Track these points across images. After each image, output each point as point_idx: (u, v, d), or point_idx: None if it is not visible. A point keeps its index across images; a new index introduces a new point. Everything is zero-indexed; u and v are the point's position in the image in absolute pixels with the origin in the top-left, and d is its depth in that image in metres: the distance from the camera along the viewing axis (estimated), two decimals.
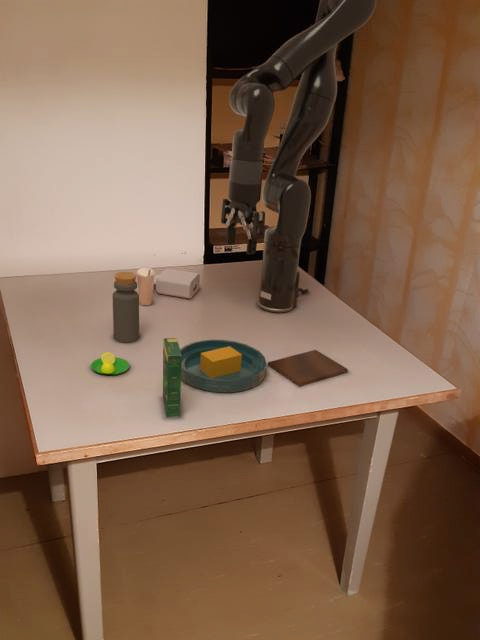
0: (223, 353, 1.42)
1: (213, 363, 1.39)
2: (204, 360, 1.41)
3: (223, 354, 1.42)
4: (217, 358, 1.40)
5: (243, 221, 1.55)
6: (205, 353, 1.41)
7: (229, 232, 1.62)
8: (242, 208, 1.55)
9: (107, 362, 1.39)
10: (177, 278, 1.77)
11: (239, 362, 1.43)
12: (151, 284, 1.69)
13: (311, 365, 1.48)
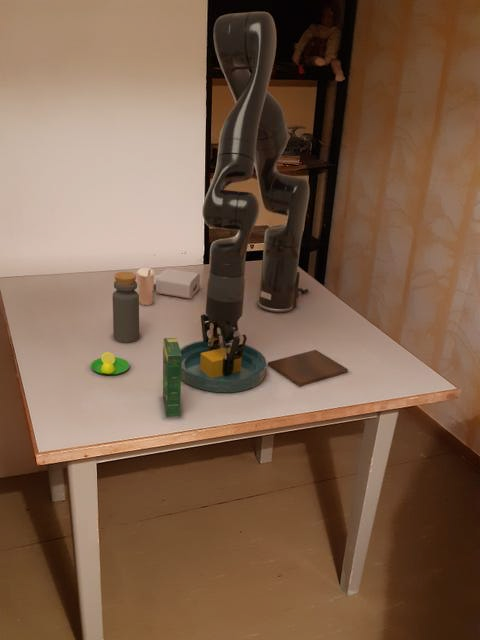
0: None
1: (213, 363, 1.39)
2: (204, 360, 1.41)
3: None
4: (217, 358, 1.40)
5: (221, 340, 1.37)
6: (205, 353, 1.41)
7: None
8: (222, 324, 1.37)
9: (107, 362, 1.39)
10: (177, 278, 1.77)
11: (239, 362, 1.43)
12: (151, 284, 1.69)
13: (311, 365, 1.48)
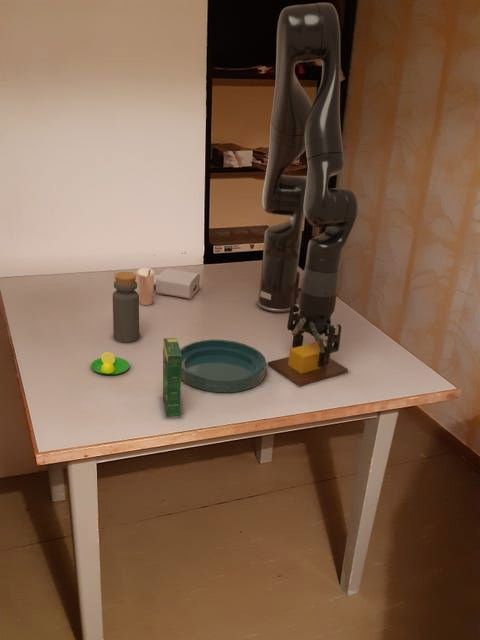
0: (311, 349, 1.46)
1: (303, 359, 1.42)
2: (293, 355, 1.45)
3: (311, 350, 1.45)
4: (307, 354, 1.43)
5: (315, 333, 1.40)
6: (294, 349, 1.45)
7: (296, 340, 1.47)
8: (314, 319, 1.40)
9: (107, 362, 1.39)
10: (177, 278, 1.77)
11: None
12: (151, 284, 1.69)
13: None
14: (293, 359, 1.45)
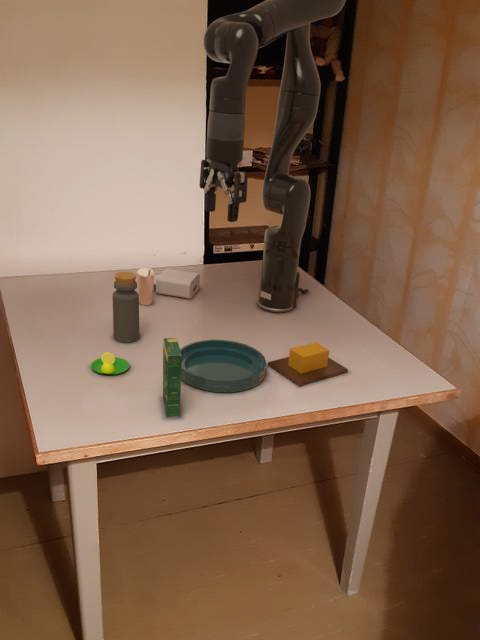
0: (311, 349, 1.46)
1: (303, 359, 1.42)
2: (293, 355, 1.45)
3: (311, 350, 1.45)
4: (307, 354, 1.43)
5: (223, 183, 1.38)
6: (294, 349, 1.45)
7: (208, 198, 1.45)
8: (222, 169, 1.38)
9: (107, 362, 1.39)
10: (177, 278, 1.77)
11: (326, 358, 1.47)
12: (151, 284, 1.69)
13: None
14: (293, 359, 1.45)
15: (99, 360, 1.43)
